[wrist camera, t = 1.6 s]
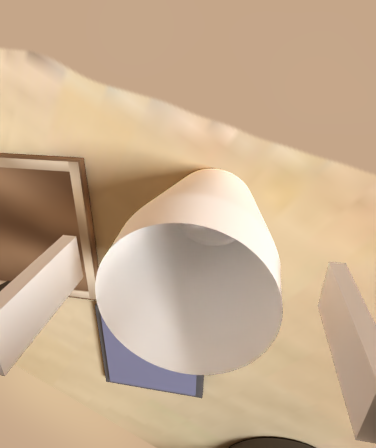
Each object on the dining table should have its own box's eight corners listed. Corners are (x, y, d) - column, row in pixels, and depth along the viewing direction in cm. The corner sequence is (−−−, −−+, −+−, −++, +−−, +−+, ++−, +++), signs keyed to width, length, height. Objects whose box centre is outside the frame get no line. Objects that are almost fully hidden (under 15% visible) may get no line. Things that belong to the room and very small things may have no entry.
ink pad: (202, 391, 34) (201, 401, 33) (109, 375, 36) (104, 384, 35) (206, 314, 30) (205, 323, 29) (98, 300, 31) (93, 308, 30)
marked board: (102, 297, 31) (99, 301, 30) (-22, 281, 33) (-27, 284, 33) (83, 157, 25) (79, 159, 24) (-67, 149, 27) (-74, 151, 26)
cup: (294, 213, 24) (332, 325, 13) (210, 274, 28) (185, 399, 17) (214, 125, 22) (182, 172, 11) (135, 203, 26) (56, 293, 15)
